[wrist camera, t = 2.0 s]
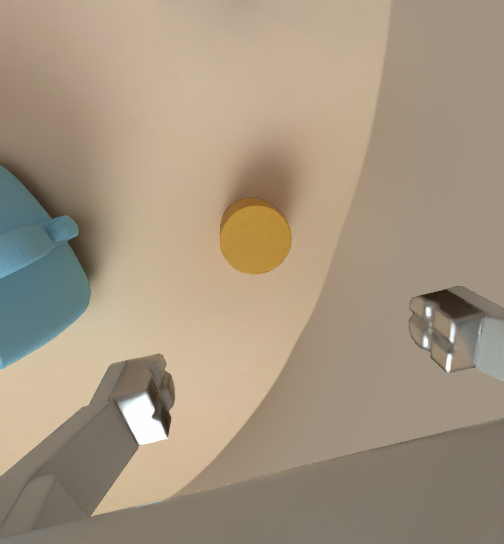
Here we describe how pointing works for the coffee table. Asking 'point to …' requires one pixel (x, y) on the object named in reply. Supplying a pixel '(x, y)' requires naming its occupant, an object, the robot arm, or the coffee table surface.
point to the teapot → (35, 273)
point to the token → (254, 236)
